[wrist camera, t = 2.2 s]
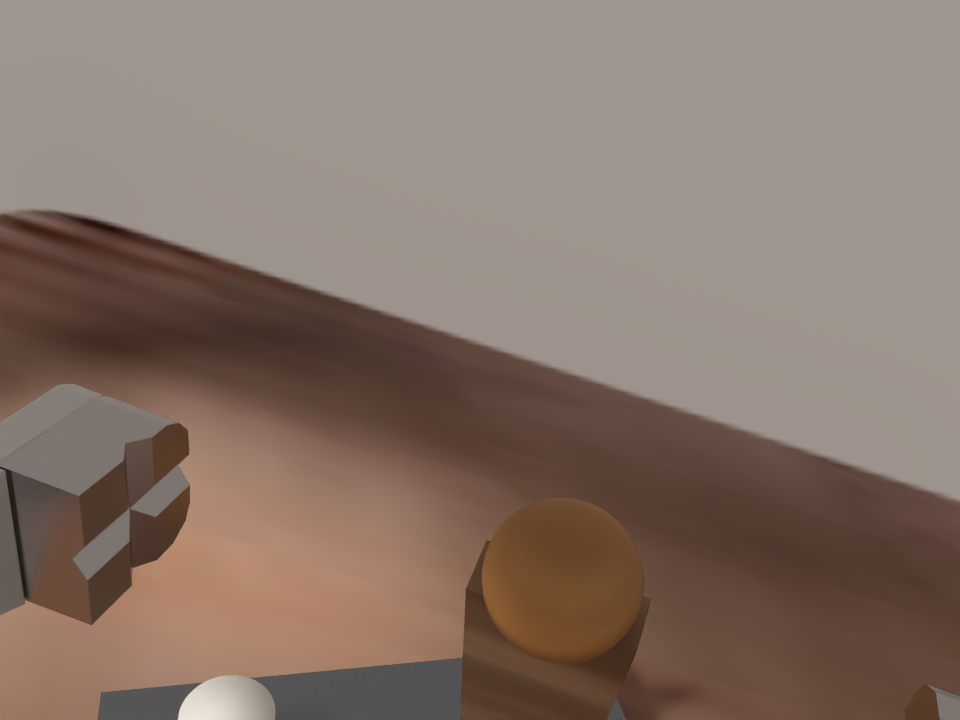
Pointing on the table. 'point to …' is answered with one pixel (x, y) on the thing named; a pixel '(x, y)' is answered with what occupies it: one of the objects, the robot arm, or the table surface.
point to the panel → (328, 695)
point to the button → (228, 700)
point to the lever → (552, 615)
